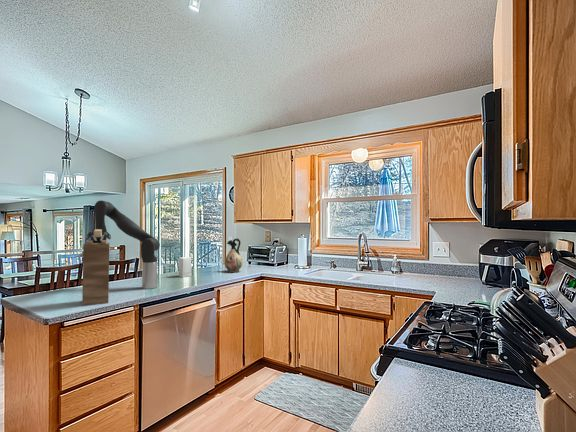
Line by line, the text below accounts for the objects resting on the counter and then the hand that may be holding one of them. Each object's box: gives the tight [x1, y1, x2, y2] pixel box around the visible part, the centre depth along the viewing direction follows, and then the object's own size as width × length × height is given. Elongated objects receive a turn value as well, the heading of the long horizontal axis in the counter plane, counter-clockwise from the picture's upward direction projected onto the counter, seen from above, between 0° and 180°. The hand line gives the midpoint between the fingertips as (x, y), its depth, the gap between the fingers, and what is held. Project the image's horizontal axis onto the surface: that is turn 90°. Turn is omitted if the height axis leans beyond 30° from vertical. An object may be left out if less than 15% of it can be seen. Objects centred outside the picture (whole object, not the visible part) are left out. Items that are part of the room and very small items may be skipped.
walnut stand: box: [81, 239, 110, 306], centre depth 179 cm, size 12×12×34 cm
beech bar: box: [93, 228, 102, 237], centre depth 188 cm, size 26×4×4 cm, turn 29°
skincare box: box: [178, 256, 192, 278], centre depth 263 cm, size 8×7×16 cm
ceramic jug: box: [224, 238, 243, 273], centre depth 289 cm, size 17×15×30 cm
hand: (98, 230), depth 193 cm, fingers closed on beech bar, 3 cm apart
